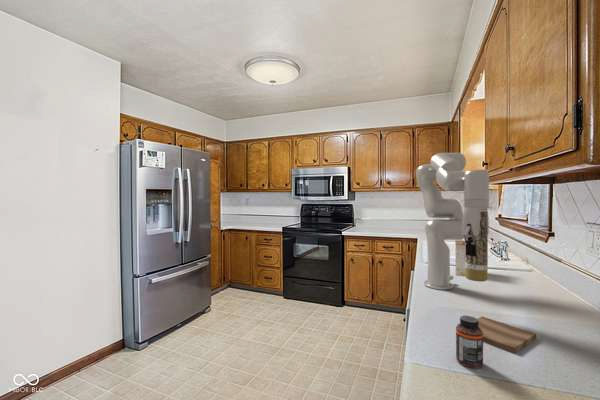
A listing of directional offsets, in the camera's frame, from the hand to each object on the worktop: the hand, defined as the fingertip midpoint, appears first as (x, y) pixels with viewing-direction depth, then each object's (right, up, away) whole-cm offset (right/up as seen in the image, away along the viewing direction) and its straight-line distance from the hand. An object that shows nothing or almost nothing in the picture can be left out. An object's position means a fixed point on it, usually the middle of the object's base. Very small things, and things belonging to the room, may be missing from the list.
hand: (476, 254), depth 103 cm
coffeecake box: (+28, -22, +57) cm, 67 cm away
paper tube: (0, -9, 0) cm, 9 cm away
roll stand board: (-3, -22, -15) cm, 27 cm away
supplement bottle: (-20, -22, -30) cm, 42 cm away
